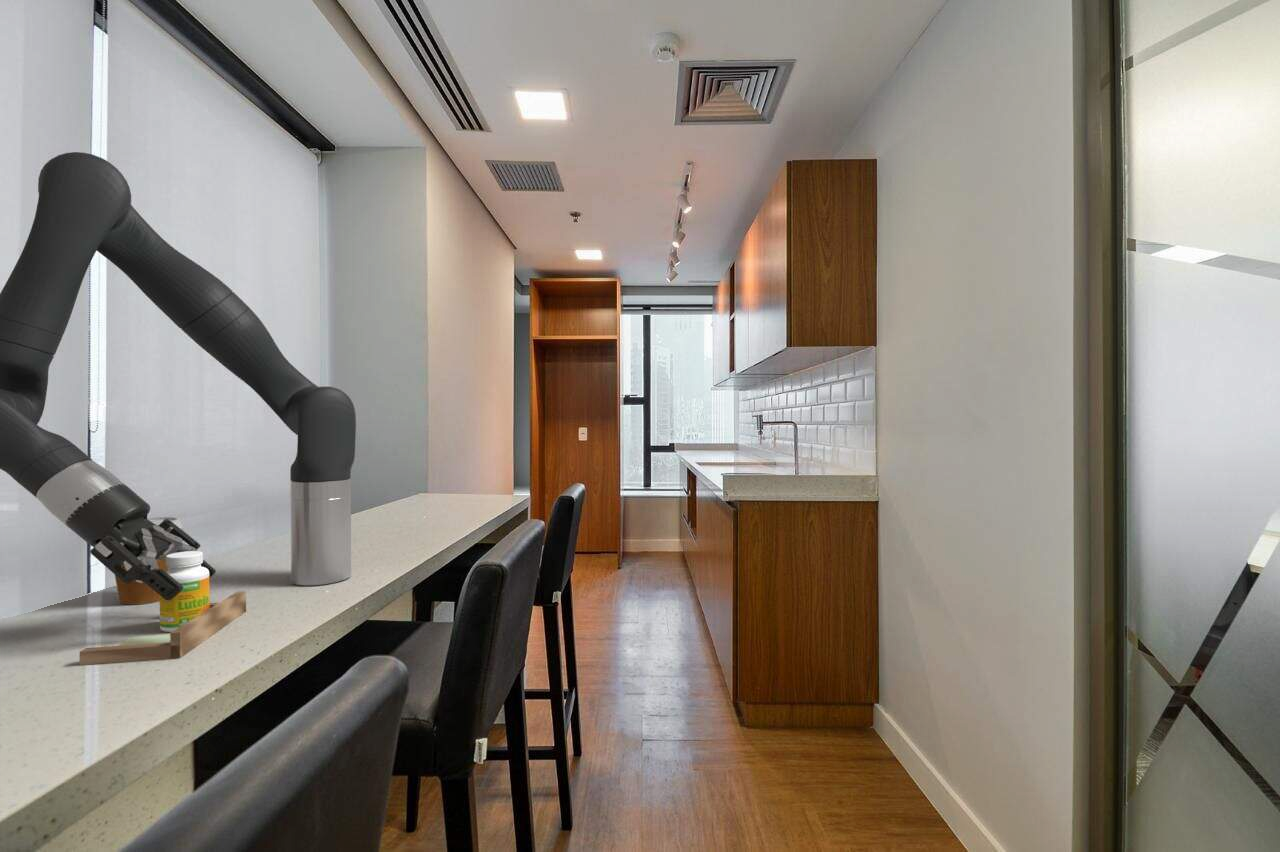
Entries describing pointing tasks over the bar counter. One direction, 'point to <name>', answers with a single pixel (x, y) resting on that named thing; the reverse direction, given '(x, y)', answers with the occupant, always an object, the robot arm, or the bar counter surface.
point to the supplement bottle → (185, 590)
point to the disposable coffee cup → (142, 591)
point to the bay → (171, 636)
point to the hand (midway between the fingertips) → (194, 585)
